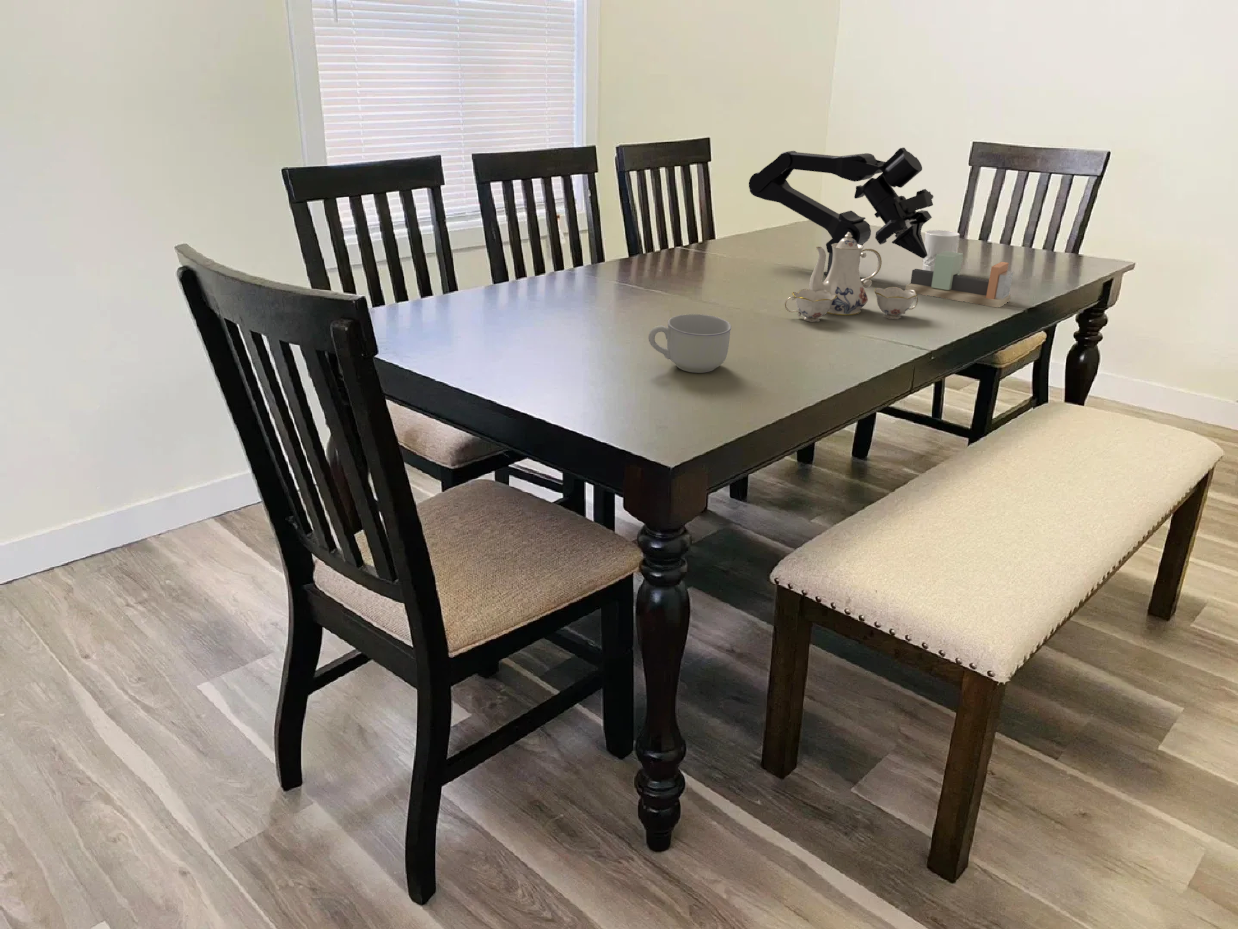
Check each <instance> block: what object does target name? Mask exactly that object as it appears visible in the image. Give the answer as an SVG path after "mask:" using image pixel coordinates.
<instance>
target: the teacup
mask: <svg viewBox="0 0 1238 929" xmlns="http://www.w3.org/2000/svg"><path fill="white" fill-rule="evenodd" d="M731 330H732V324H731V322H729V321H727V320H726V319H724V318H722V317H719V316H715V315H712V314H711V315H710V314H705V313H704V314H703V313H702V314H701V313H686V314H683V313H682V314H678V315H674V316H671V317H670V318H669V319H668V320H667V326H665V325H661V324H659V325H656V326H653V327H652V328H651V329H650V331H649V333H648V342H649V344H650V346H651V347H652V348H653V349H654V350H655V351H656V352H659V353H660V354H662V355H663V356H664V358H665V359H667V360H670V361H671V362H672V363H673V364H674V365H675V367H677V368H678V369H680V370H682V371H684V372H689V373H695V374H697V373H698V374H704V373H710V372H712V371H714V370H715V369H717V368H718V367H719V366H721V365H722V364H723V363H724V362H725V361H726V360H727V356H728V352H729V347H730V338H731V337H730V335H731ZM658 333H663V334H664V335H665V339H666V347H663V346H661V345H659V344H658V343H657V342H656V340H655V339H656V338H655V337H656V335H657V334H658Z"/></svg>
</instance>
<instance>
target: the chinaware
mask: <svg viewBox="0 0 1238 929" xmlns="http://www.w3.org/2000/svg"><path fill="white" fill-rule="evenodd" d="M845 237H846V238H843V239H841V240H840V241H839V243H834V244H832V245H831V246H832V249H833V259H832V265H831V268H830V271H829V273H828V276H826V278H825V279H824V281H823V277H824V271H825V267H826V266H825V265H826V261H827V260H826V258H827V254H826V250H825V249H824V248H823V247H822V246H815V248H816V250H817V252H818V258H817V261H816V264H815V266H814V268H813V270H812V273H811V276H810V279H809V285H808V287H809V288H808V289H807V288H804V289H800V290H799V291H797V292H795V291H793V292H791V295H792V296H790V297H787V298H786V300H785V302H784V308H785V310H786V311H787V312H788V313H795V312H797V315H796V316H797V317H801V316H804V319H803V321H806V322H810V323H813V322H815V323H816V322H820V318H821V317H824V316H825V315H826V314H830V315H836V316H854V315H859V314H861V312H862V311H861V309H862V308H863V307H864V306H866V304H867V303H868V301H869V298H868V295H867V293H866V290H865V289H868V288H870V287H871V285H872V284H873V281H872V280H871V279H874V277H875V276H877V275H878V274H879V272H880V270H881V268H882V262H883V260H882V257H881V254H880V252H878V251H877V250H875V249H874V248H864V247H865V246H862V245H859V244H857V242H856V240H855V239H852V238H851V237H852V235H851V233H850V232H848V233H847V234H846V235H845ZM866 252H872V253H873V254H875V255H876V258H877V266H876V269H875V270H874V272H873V273H872V274H871V275H869V276H867V277H863V278H861V277H860V263H859V260H860V261H861V258H862V259H865V258H866V257H867V253H866ZM874 294H875V297H876V302H877V306H878V308H879V309H880V311H881V312H882V313H884V314H885V315H884V314H883V317H884V318H887V319H888V320H890V319H893V320H899V319H900V318H902V316H900V315H904V314H906V312H907V311H908V310H910V311H911V310H913V309H915V308H916V307H917V305H918V303H919V299H918V294H916V292H915V291H914V290H906V289H905V290H904V289H902V288H900V287H897V286H888V287H886V288H884V289H883V288H882V287H881V288H880V287H875V288H874ZM790 299H791V301H794V300H795V305H796V309H797V310H790V309H788V308H787V303H788V300H790ZM914 299H915V304H914V305H913V306H912V304H913V302H914ZM911 306H912V307H911Z"/></svg>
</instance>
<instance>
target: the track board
mask: <svg viewBox="0 0 1238 929" xmlns="http://www.w3.org/2000/svg"><path fill="white" fill-rule="evenodd" d="M905 290H914V291H915V292H916V295H921V296H922V295H923V296H927V295H930V296H929V297H933V296H936V297H935V298H939V297H941V299H945V300H946V299H947V300H952V301H956V302H957V301H958V302H963V301H965V302H964V303H968V302H970V303H969V304H974V303H975V305H981V306H986V307H993V308H998V307H1000V308H1001V307H1002V306H1005V305H1007V304H1008V303H1009V302H1010V300H1011V294H1009V296H1007V297H1006V298H1004V299H1002V300H1000V299H988V298H986V296H985V295H979V294H973V293H967V292H961V291H955V290H945V289H939V288H933V287H930V286H924V285H918V284H912V283H911V282H910V283H909V284H908V283H907V284H906V285H905ZM1007 302H1008V303H1007ZM1004 304H1005V305H1004Z"/></svg>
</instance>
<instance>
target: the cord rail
mask: <svg viewBox="0 0 1238 929" xmlns="http://www.w3.org/2000/svg"><path fill="white" fill-rule="evenodd" d="M933 273H934V271H927V270H922V269H919V268H914V269H912V270H911V277H910V283H912V284H918V285H924V286H930V287H931V285H932V279H933ZM988 284H989V279H985V278H978V277H973V276H965V275H953V281H952V287H951V289H950V290H955V291H961V292H967V293H973V294H979V295H985V296H986V295H987V289H988Z"/></svg>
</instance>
